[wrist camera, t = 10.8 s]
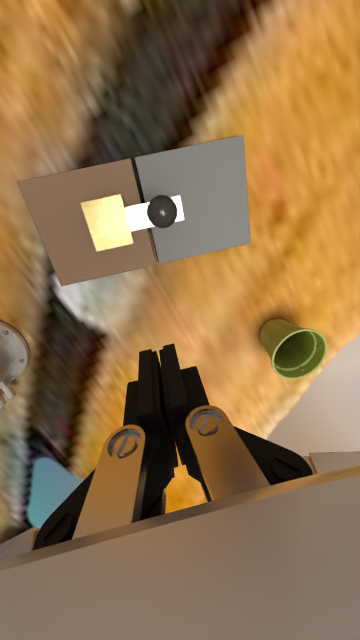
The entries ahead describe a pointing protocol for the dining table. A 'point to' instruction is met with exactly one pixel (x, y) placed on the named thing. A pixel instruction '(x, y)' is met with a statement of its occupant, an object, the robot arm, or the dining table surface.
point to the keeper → (108, 222)
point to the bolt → (155, 213)
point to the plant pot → (293, 348)
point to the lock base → (156, 179)
